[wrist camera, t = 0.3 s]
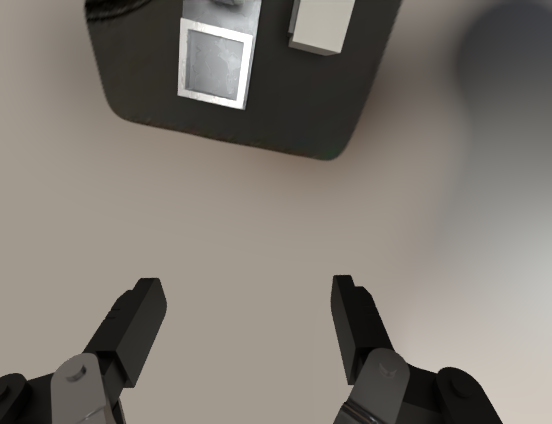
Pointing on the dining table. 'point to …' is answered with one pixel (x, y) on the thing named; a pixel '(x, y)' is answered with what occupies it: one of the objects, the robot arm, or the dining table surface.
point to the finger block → (319, 25)
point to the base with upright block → (217, 50)
